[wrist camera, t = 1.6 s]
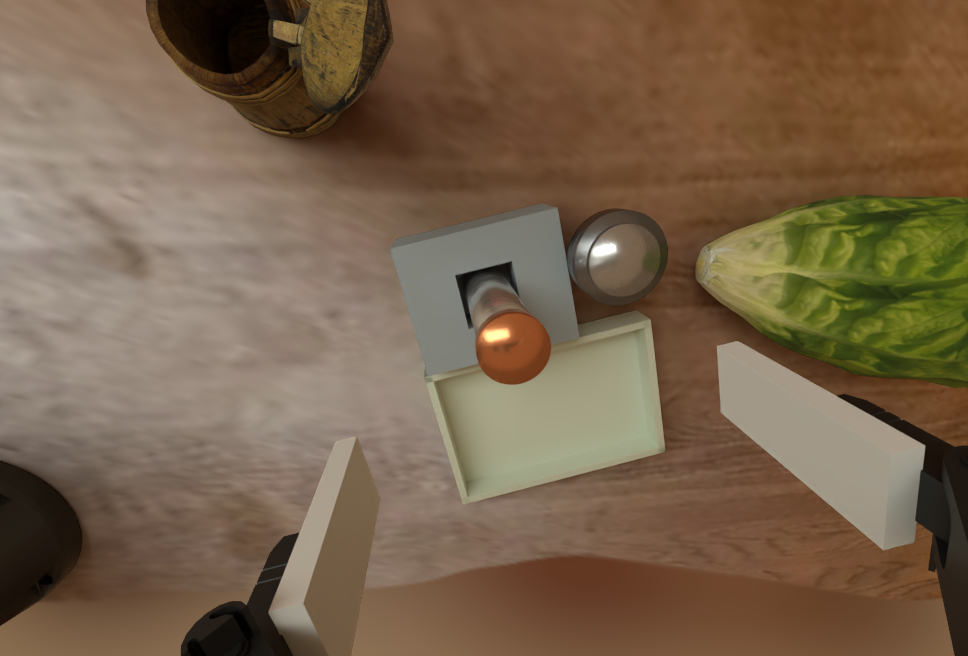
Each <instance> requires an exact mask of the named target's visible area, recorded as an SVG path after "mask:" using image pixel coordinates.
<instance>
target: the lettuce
mask: <svg viewBox="0 0 968 656" xmlns="http://www.w3.org/2000/svg"><path fill="white" fill-rule="evenodd" d="M695 277H696V280H697V282H698V283H699V284H700V285H701V286H702V287H703V288H704V289H705V290H706V291H707V292H709V293H710V294H711V295H712V296H713V297H714V298H715V299H717V300H718V301H719V302H720V303H722V304H723V305H725V306H726V307H728V308H729V309H731V310H732V311H734V312H735V313H737V314H738V315H740V316H741V317H743V318H744V319H745V320H746V321H748V322H749V323H750V324H751V325H752V326H753V327H755V328H756V329H757V330H758V331H759V332H760V333H762V334H764V335H765V336H767V337H768V338H770V339H772V340H773V341H775V342H776V343H778V344H780V345H781V346H783V347H786V348H788V349H790V350H793V351H795V352H797V353H800V354H802V355H805V356H808V357H811V358H814V359H817V360H820V361H823V362H826V363H829V364H831V365H833V366H836V367H838V368H841V369H843V370H845V371H848V372H850V373H852V374H855V375H864V376H873V377H881V378H895V379H917V380H924V381H928V382H932V383H936V384H940V385H945V386H949V387H953V388H964V387H968V198H961V197H897V198H896V197H883V196H871V195H857V196H841V197H835V198H831V199H826V200H821V201H816V202H812V203H809V204H806V205H803V206H799V207H796V208H793V209H790V210H787V211H785V212H783V213H780V214H778V215H776V216H774V217H772V218H769V219H767V220H765V221H762V222H759V223H756V224H753V225H750V226H747V227H744V228H741V229H738V230H735V231H733V232H731V233H729V234H726V235H724V236H722V237H720V238H718V239H717V240H715V241H713V242H711V243H709V244H707V245H706V246H704V247H703V248H702V250H701V251H700V253H699V256H698V259H697V262H696V268H695Z"/></svg>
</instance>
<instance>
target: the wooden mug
mask: <svg viewBox="0 0 968 656" xmlns="http://www.w3.org/2000/svg"><path fill="white" fill-rule="evenodd" d="M146 12H147V16H148V20H149V23H150V27H151V30H152V32H153V33H154V35H155V37H156V39H157V41H158V43H159V44H160V45H161V47H162V48H163V49H164V50H165V51H166V53H167V54H168V56H169V57H170V58H171V60H172V61H173V62H174V63H175V65H176V66H177V67H178V69H179V70H180V71H181V72H182V73H183V74H184V75H185V76H187V77H188V78H189V79H190V80H191V81H193V82H194V83H195V84H197V85H198V86H199V87H200V88H202V89H203V90H204V91H206V92H208V93H210V94H212V95H214V96H216V97H218V98H220V99H223V100H225V101H227V102H228V103H229V104H231V106H232V107H233V108H234V110H236V111H237V112H238V113H239V114H240V115H241V116H242V117H243V118H245V119H246V120H247V121H248V122H249V123H250V124H251V125H253V126H254V127H256V128H258V129H260V130H262V131H265V132H267V133H269V134H273V135H277V136H282V137H286V138H303V137H307V136H312V135H317V134H319V133H321V132H322V131H324V130H326V129H328V128H329V127H331V126H333V125H334V123H335V122H336V121H337V120H338V118H339V117H340V116H341V114H342V113H343V112H344V110H345V109H346V108H348V107H349V106H351V105H352V104H353V103H354V102H355V101H357V100H358V99H359V98H360V97H361V96H362V94H363V93H364V92H365V91H366V90H367V89H368V88H369V86H370V85H371V83H372V82H373V81H374V79H375V78H376V76H377V74H378V72H379V70H380V68H381V66H382V64H383V62H384V60H385V58H386V56H387V54H388V52H389V50H390V48H391V46H392V44H393V42H394V41H393V34H392V27H391V20H390V13H389V9H388V5H387V0H312V1H311V0H146Z"/></svg>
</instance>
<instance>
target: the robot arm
mask: <svg viewBox="0 0 968 656" xmlns="http://www.w3.org/2000/svg"><path fill="white" fill-rule="evenodd" d="M717 356H718V373H719V389H720V406H721V413H722V414H723V415H724V416H725V417H727V418H728V419H729V420H730V421H731V422H733V423H734V424H735V425H736V426H737V427H738V428H740V429H741V430H742V431H743V432H744V433H746V434H747V435H748V436H749V437H750V438H751V439H753V440H754V441H755V442H756V443H757V444H759V445H760V446H761V447H762V448H763V449H764V450H766V451H767V452H768V453H769V454H770V455H771V456H773V457H774V458H775V459H776V460H777V461H779V462H780V463H781V464H782V465H783V466H784V467H786V468H787V469H788V470H789V471H790V472H792V473H793V474H794V475H795V476H796V477H797V478H799V479H800V480H801V481H802V482H803V483H805V484H806V485H807V486H808V487H809V488H810V489H812V490H813V491H814V492H815V493H816V494H818V495H819V496H820V497H821V498H822V499H823V500H825V501H826V502H827V503H828V504H829V505H831V506H832V507H833V508H834V509H835V510H836V511H838V512H839V513H840V514H841V515H842V516H844V517H845V518H846V519H847V520H848V521H849V522H851V523H852V524H853V525H854V526H855V527H857V528H858V529H859V530H860V531H861V532H862V533H864V534H865V535H866V536H867V537H868V538H870V539H871V540H872V541H873V542H874V543H875V544H877V545H878V546H879V547H880V548H881V549H883V550H886V549H890V548H894V547H898V546H902V545H906V544H909V543H913V542H914V540H915V532H916V523H917V522H918V523H919V524H921V525H922V526H924V527H925V528H926V529H928V530H929V531H930V532H932V533H933V538H932V546H931V554H930V561H929V569H928V570H929V571H933V572H935V570H936V569H937V574H938V579H939V583H940V588H941V593H942V598H943V602H944V607H945V612H946V617H947V621H948V626H949V631H950V636H951V640H952V645H953V650H954V655H955V656H968V446H957V447H954V446H952V445H950V444H948V443H946V442H944V441H943V440H941V439H939V438H937V437H935V436H933V435H931V434H929V433H927V432H926V431H924V430H922V429H920V428H918V427H916V426H914V425H912V424H910V423H909V422H907V421H905V420H900V418H899V417H897V416H895V415H893V414H891V413H890V412H887V413H886V411H885V410H884V409H882V408H880V407H878V406H876V405H874V404H873V403H871V402H869V401H867V400H863V399H860V398H856V397H853V396H850V395H846V394H843V395H839V396H835V395H834V394H832V393H830V392H828V391H826V390H825V389H823V388H821V387H819V386H817V385H816V384H814V383H812V382H810V381H809V380H807V379H805V378H803V377H801V376H800V375H798V374H796V373H794V372H792V371H791V370H789V369H787V368H785V367H783V366H782V365H780V364H778V363H776V362H774V361H773V360H771V359H769V358H767V357H765V356H764V355H762V354H760V353H758V352H757V351H755V350H753V349H751V348H749V347H748V346H746V345H744V344H742V343H740V342H739V341H736V342H732V343H728V344H724V345H720V346H717ZM379 502H380V497H379V494H378V491H377V489H376V486H375V483H374V481H373V478H372V475H371V473H370V470H369V467H368V465H367V462H366V459H365V457H364V454H363V451H362V449H361V446H360V443H359V441H358V438H357V436H355V437H351V438H347V439H343V440H339V441H336V442H335V444H334V447H333V449H332V452H331V454H330V457H329V459H328V462H327V464H326V467H325V469H324V472H323V475H322V477H321V480H320V482H319V485H318V487H317V490H316V492H315V495H314V497H313V500H312V503H311V505H310V508H309V510H308V513H307V515H306V518H305V520H304V523H303V525H302V528H301V530H300V533H296V534H292V535H288V536H284V537H283V538H282V539H281V540H280V542H279V543H278V544H277V545H276V546H275V548H274V549H273V550H272V551H271V552H270V554H269V557H268V559H267V561H266V563H265V566H264V568H263V572H261V574H260V577H259V579H258V581H257V585H256V586H255V588H254V590H253V592H252V595H251V597H250V599H249V601H248V603H247V605H245V604H244V603H243V602H241V601H231V602H228V603H225V604H222V605H219V606H218V607H216V608H214V609H213V610H211V611H209V612H208V613H206V614H205V615H204V616H203V617H202V618H201V619H199V620H198V621H197V622H196V623H195V624H194V626H193V627H192V628H191V629H190V631H189V632H188V633H187V635H186V636H185V639H184V641H183V643H182V645H181V656H351V652H352V647H353V642H354V636H355V631H356V626H357V620H358V615H359V609H360V604H361V599H362V593H363V588H364V583H365V577H366V572H367V566H368V561H369V556H370V550H371V545H372V540H373V534H374V529H375V523H376V518H377V513H378V507H379ZM80 550H81V532H80V528H79V525H78V522H77V519H76V517H75V515H74V514H73V512H72V510H71V509H70V507H69V506H68V504H67V503H66V502H65V501H64V500H63V499H62V497H61V496H60V495H59V494H58V493H56V492H55V491H54V490H53V489H52V488H51V487H49V486H48V485H47V484H45V483H44V482H43V481H41V480H39V479H38V478H36V477H35V476H33V475H31V474H29V473H27V472H25V471H23V470H21V469H18V468H16V467H13V466H10V465H7V464H4V463H1V462H0V626H1V625H2V624H4V623H6V622H7V621H9V620H10V619H12V618H13V617H15V616H16V615H18V614H20V613H21V612H23V611H24V610H26V609H28V608H29V607H31V606H32V605H34V604H35V603H37V602H39V601H40V600H41V599H43V598H44V597H45V596H46V595H48V594H49V593H50V592H51V591H52V590H53V589H54V588H55V587H56V586H57V585H58V584H59V582H60V581H61V580H62V579H63V578H64V577H65V576H66V575H67V574H68V573H69V572H70V571H71V569H72V568H73V567H74V565H75V563H76V562H77V559H78V557H79V554H80Z"/></svg>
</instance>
